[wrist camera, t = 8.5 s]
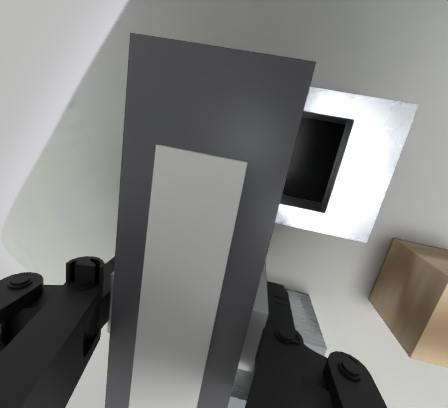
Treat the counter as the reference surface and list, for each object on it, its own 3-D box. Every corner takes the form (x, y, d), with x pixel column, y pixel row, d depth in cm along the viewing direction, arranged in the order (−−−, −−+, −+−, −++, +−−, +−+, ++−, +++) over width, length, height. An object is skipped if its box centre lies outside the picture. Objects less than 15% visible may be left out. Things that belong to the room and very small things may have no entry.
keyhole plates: (181, 85, 16) (148, 59, 11) (366, 118, 15) (418, 104, 10) (152, 322, 21) (120, 375, 16) (287, 359, 20) (296, 428, 15)
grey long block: (203, 97, 14) (124, 28, 6) (281, 111, 13) (318, 57, 5) (167, 344, 18) (95, 502, 10) (223, 359, 18) (195, 536, 10)
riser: (393, 238, 16) (450, 277, 11) (449, 250, 16) (531, 296, 11) (368, 299, 18) (410, 358, 13) (419, 311, 17) (481, 376, 12)
